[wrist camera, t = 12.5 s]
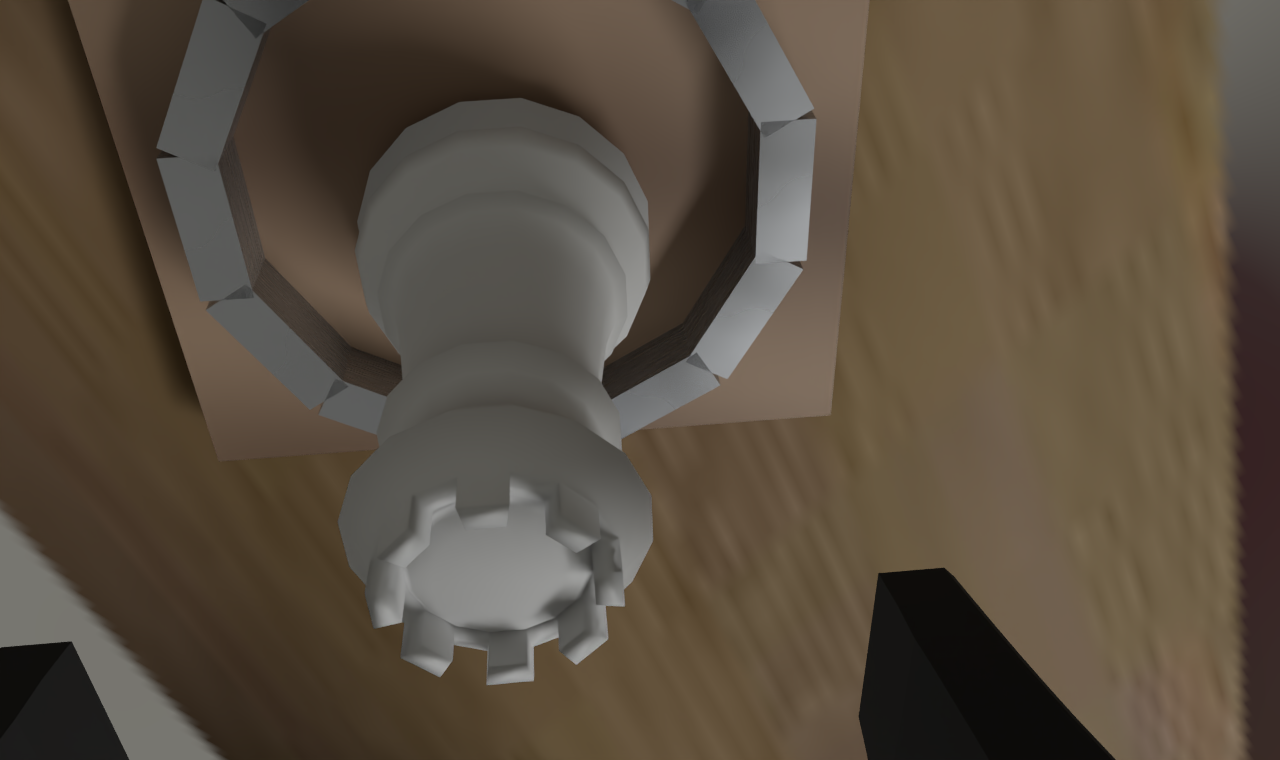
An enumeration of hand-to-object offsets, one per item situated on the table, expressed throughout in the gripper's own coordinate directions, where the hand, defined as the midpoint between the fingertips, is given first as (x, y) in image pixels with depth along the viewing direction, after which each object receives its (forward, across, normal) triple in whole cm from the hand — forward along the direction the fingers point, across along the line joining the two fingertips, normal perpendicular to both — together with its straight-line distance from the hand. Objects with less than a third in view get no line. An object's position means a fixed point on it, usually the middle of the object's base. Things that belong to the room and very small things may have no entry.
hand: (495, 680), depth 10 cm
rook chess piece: (+9, 0, 0) cm, 9 cm away
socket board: (+10, 0, -1) cm, 10 cm away
